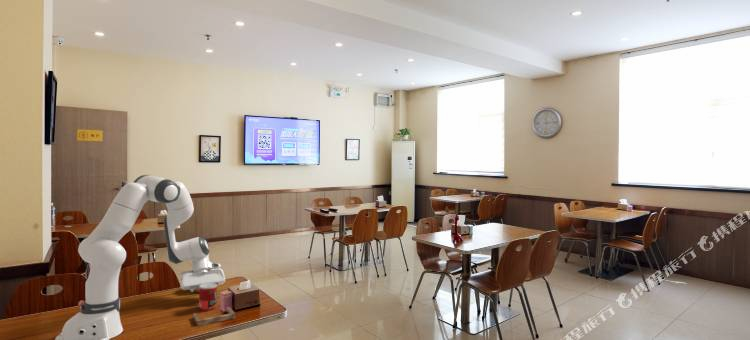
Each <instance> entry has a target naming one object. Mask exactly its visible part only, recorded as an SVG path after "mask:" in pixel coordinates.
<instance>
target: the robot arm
mask: <svg viewBox="0 0 750 340" xmlns="http://www.w3.org/2000/svg"><path fill="white" fill-rule="evenodd" d="M148 201H151V202H154V203H159V204H165V205H166V208H167V215H166V216H165V217H164V219H163V230H164V237H165V242H166V249H167V250H166V255H167V259H168V261H169V262H170V263H173V264H175V265H179V264H181V263H183V262H185V261H188V260H190V261H191V270H187V271H182V272H180V274H179V279H180V280H181V283H180V284H181V285H180V287H181V290H182V291H187V290H188V291H189V289H195V288H199V287H200V285H201V284H204V283H216V284H217V286H220V285H224V284H225V282H226V277H225V273H224V269H222V268H221V267H222V265H221V263H215V262H211V261H210V258H209V257H210V254H209V253H210V247H209V243H208V241H207V239H205V238H204V237H201V236H197V237H193V238H190V239H186V240H183V241H176V235H175V229H176V228H178V227H179V226H180V225H182V224H184V223H185V222H186V221H188V220H189V219H190V218H191V217H192V215H193V214H194V212H195V209H194V203H193V200H192V197H191V195H190V193H189V190H188V189H187V187H186V186H185V184H184V183H183V182H182V181H172V180H171V179H167V178H164V177H161V176H157V175H152V174H151V175H150V174H142V175H140V176H138V177H137V178H136V179H134V181H133V182H128V183H126V184H124V186H122V188H121V189H120V190H119V192H118V193H117V194H116V196H115V197H114V198H113V200H112V202H111V204H110V206H109V207H108V210H106V213H105V215H104V216H103V218H102V220H100V222H99V224H98V225H96V227H95V228H94V229H93V230H92V232H91V233H90V234H89V235H88V236H87V237H86V238H85V239H83V240H82V241H81V242H80V243H79V245H78V248H77V251H78V254H79V256H80V257H81V259H82V260H83V261H84V262H86V263H88V264H89V267H90V268H89V274H88V277H87V280H86V281H85V284H84V285H85V292H84V293H85V295H84V296H85V300H80V301H78V308H79V310H78V311H79V312H77V313H76V314H75V315H73V316H72V317H70V318H69V319H68V320H67V321H66V322H65V323H64V325H63V326H62V330H61V332H60V333H59V334H58V335H57V336H56V337H55V339H54V340H110V339H113V338H115V337H117V336H119V335H120V334H121V333H122V332H123V331H124V328H123V325H122V322H121V321H122V320H121V317H120V308H121V298H120V296H119V278H120V273H121V269H122V265H123V264H124V262H126V258H127V251H126V250H125V248H124V247H123V245H122V244H121V243H120V240H121V239H122V238H123V237H124V236H125V235H126V234H127V233H129V232H130V231H131V230H132V228H133V227H134V225H135V222H136V221H137V219H138V217H139V216H140V213H141V211H142V209H143V207H144V205H145V204H146V203H147V202H148Z"/></svg>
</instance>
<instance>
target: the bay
mask: <svg viewBox="0 0 750 340" xmlns="http://www.w3.org/2000/svg"><path fill="white" fill-rule="evenodd" d="M226 312H227V314H221V315H217V316H212V317H206V318H200V316H199V314H198V312H195V313H194V312H193V313H192V315H193V317H192V318H193V321H194V322H195V324H196V327H199V326H204V325H209V324H213V323H219V322H223V321H228V320H229V321H230V320H234V319H236V312H235V311H234V310H233V309H232V307H231V306H227V307H226Z"/></svg>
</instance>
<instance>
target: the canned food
mask: <svg viewBox="0 0 750 340" xmlns="http://www.w3.org/2000/svg"><path fill="white" fill-rule="evenodd" d="M198 294H199V296H198V299H199V300H198V303H199V306H198V307H199V309H200V310H201V311H205V312H207V311H212V310H215V309H216V308H217V306H218V285H217V284H216V283H204V284H201V285H200V287H199V292H198Z"/></svg>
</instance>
